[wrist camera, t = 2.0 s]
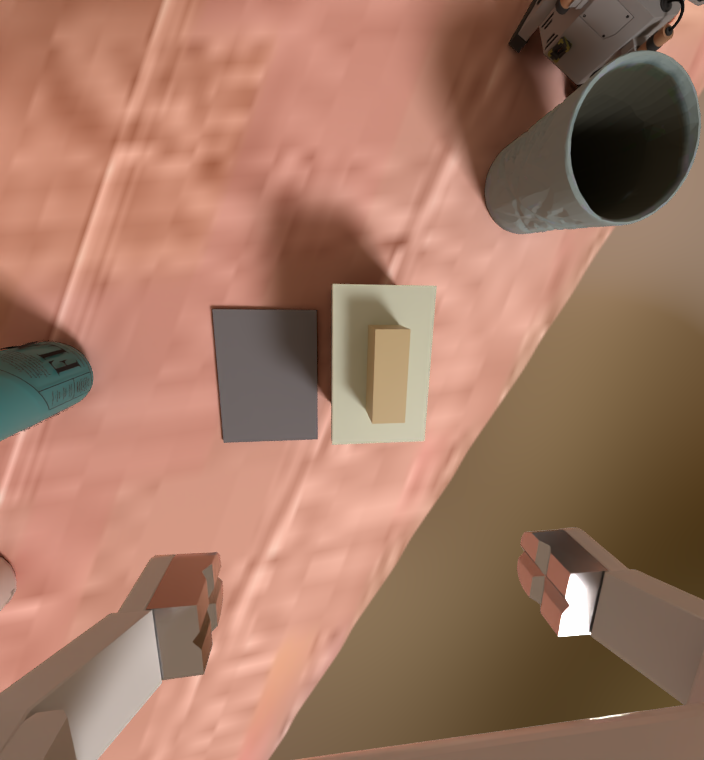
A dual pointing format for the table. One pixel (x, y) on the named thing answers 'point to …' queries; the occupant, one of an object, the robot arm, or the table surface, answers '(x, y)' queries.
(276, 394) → the mat
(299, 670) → the table surface
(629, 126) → the gray embossed pot
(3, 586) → the supplement can
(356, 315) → the lid
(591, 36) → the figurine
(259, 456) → the table surface
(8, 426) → the beverage bottle
